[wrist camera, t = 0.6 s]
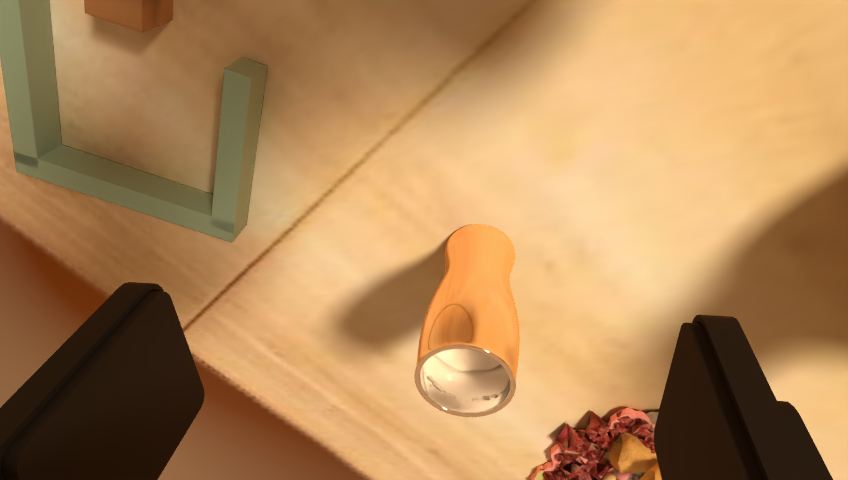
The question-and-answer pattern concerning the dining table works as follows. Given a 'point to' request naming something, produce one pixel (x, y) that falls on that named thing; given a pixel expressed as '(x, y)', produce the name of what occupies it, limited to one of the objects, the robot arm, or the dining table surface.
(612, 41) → the dining table surface
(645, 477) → the pastel sphere sculpture
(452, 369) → the beer glass
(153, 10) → the t block
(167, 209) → the frame
